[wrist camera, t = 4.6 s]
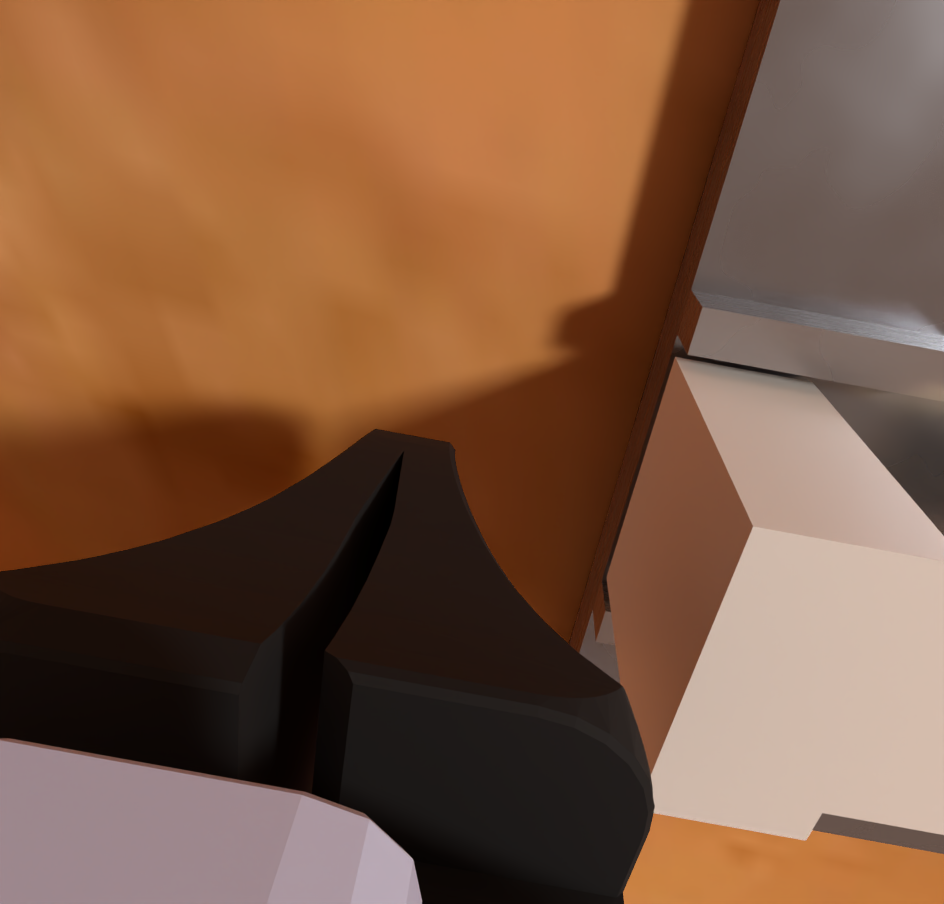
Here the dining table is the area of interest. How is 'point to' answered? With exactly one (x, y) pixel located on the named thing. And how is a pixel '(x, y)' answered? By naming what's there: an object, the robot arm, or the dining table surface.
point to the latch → (778, 614)
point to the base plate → (818, 259)
